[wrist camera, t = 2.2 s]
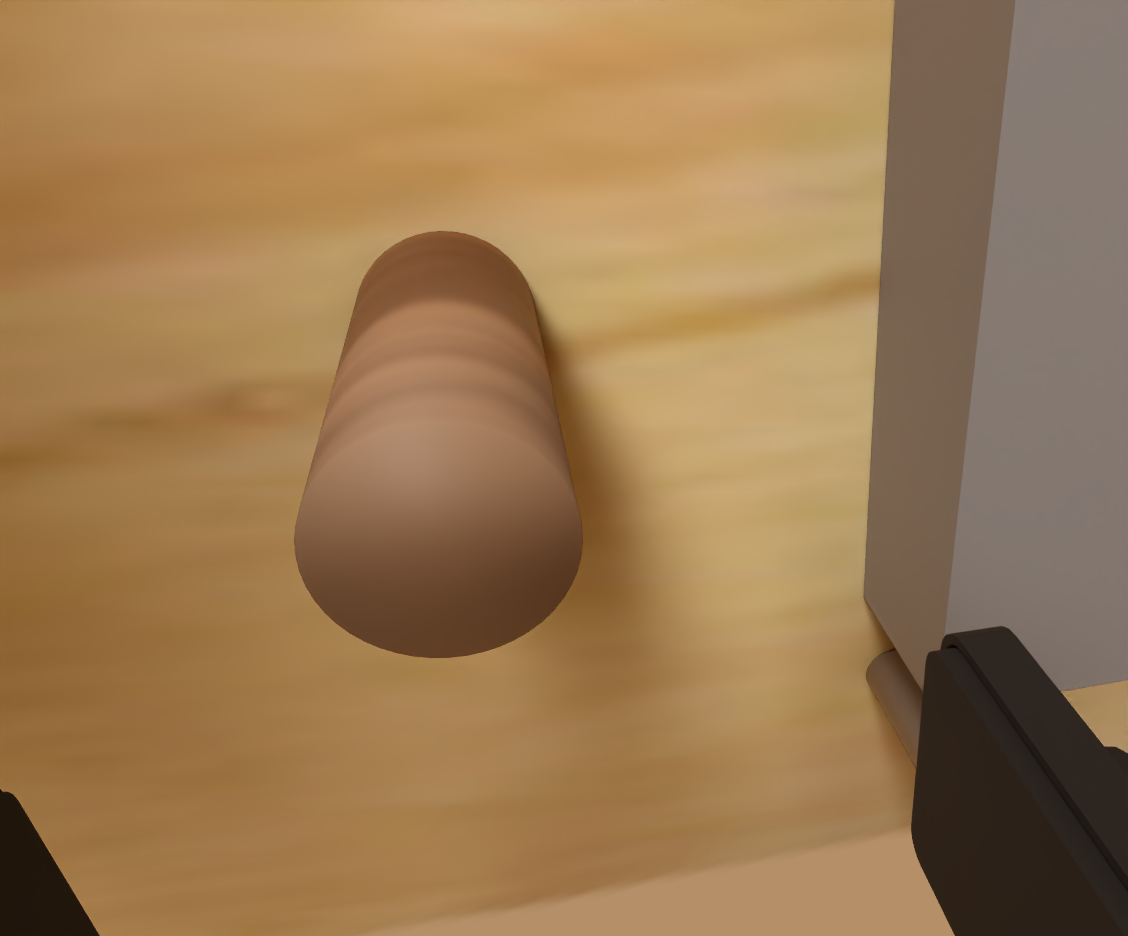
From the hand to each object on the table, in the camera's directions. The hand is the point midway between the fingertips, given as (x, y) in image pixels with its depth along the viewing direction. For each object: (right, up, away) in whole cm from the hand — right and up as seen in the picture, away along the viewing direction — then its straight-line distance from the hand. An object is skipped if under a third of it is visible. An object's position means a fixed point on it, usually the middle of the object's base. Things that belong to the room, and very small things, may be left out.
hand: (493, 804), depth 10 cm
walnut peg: (-2, +7, +11) cm, 13 cm away
